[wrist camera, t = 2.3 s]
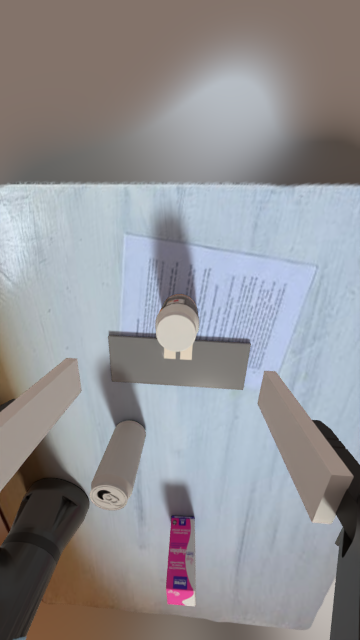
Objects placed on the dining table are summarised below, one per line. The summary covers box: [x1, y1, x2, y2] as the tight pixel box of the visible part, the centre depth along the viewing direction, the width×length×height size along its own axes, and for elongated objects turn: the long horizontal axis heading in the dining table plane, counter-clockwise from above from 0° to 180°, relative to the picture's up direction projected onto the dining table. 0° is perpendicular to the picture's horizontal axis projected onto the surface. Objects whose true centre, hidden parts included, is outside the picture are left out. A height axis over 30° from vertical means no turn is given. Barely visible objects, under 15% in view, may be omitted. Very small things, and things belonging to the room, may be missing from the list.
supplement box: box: [166, 516, 196, 606], centre depth 43 cm, size 6×6×12 cm
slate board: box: [108, 335, 251, 390], centre depth 34 cm, size 24×9×1 cm, turn 88°
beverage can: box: [90, 420, 146, 510], centre depth 34 cm, size 6×6×12 cm
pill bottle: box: [156, 294, 199, 352], centre depth 27 cm, size 6×6×10 cm
